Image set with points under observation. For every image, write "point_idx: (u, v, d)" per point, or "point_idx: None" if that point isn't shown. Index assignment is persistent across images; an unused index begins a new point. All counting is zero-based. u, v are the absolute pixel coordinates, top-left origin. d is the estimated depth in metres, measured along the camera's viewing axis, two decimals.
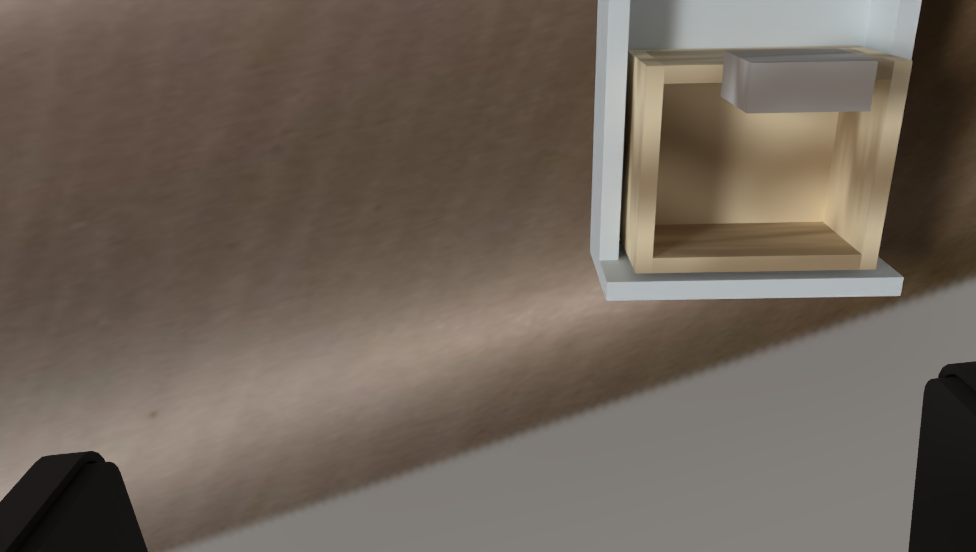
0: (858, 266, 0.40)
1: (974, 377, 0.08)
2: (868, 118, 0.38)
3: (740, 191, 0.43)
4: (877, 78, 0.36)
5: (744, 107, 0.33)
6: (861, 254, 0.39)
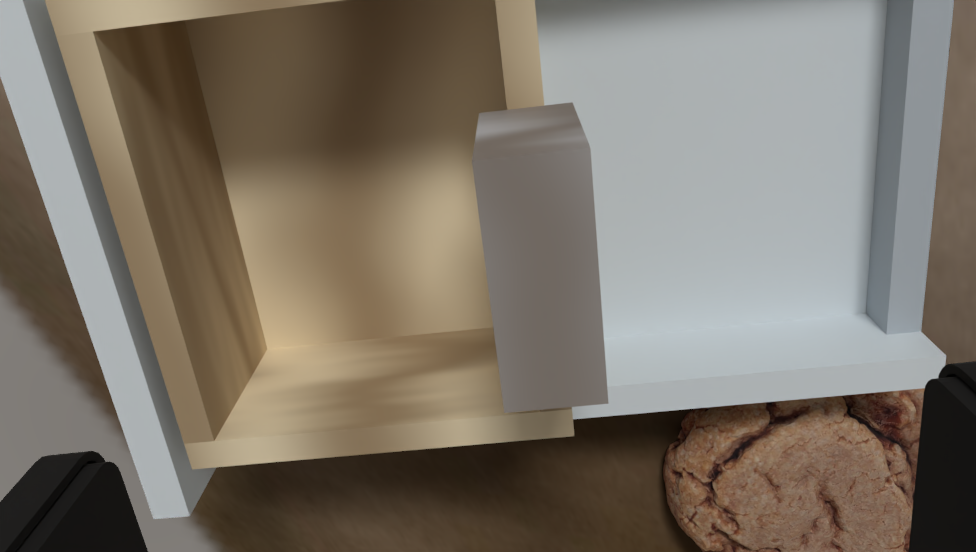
0: (190, 440, 0.21)
1: (974, 377, 0.08)
2: (460, 386, 0.22)
3: (292, 202, 0.23)
4: None
5: (482, 154, 0.14)
6: (213, 439, 0.21)
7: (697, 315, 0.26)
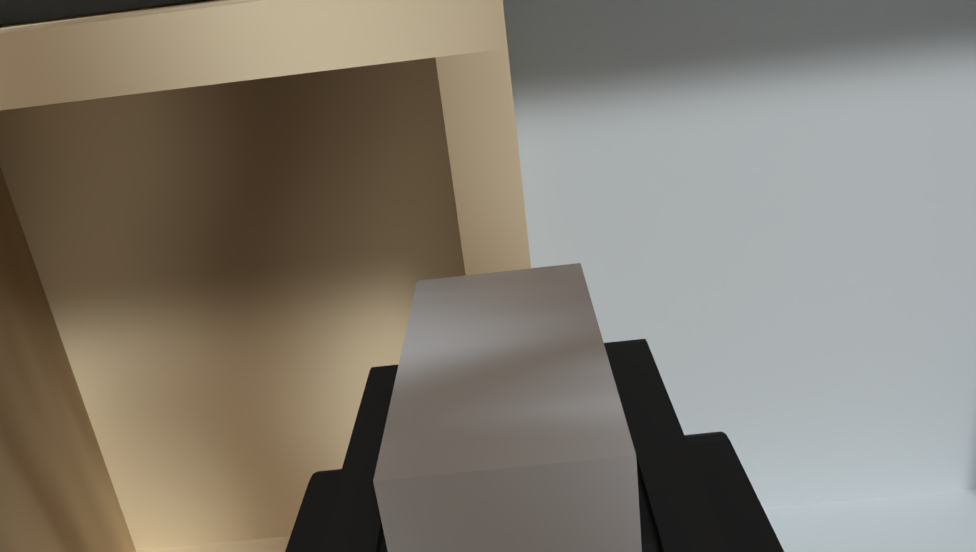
0: None
1: (611, 353, 0.09)
2: None
3: (158, 354, 0.16)
4: None
5: (400, 451, 0.06)
6: None
7: None
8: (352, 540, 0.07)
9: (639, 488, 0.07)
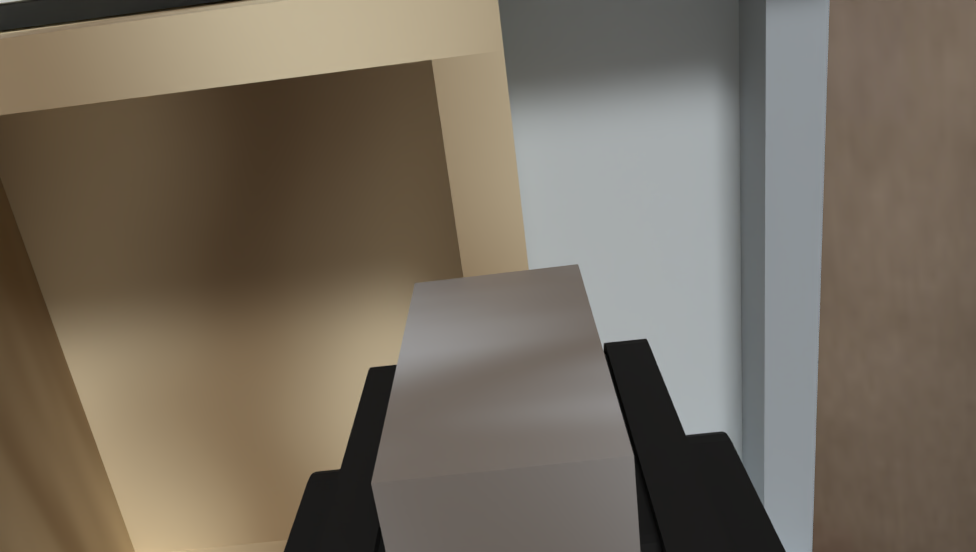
0: None
1: (612, 353, 0.09)
2: None
3: (157, 358, 0.16)
4: None
5: (398, 454, 0.06)
6: None
7: None
8: (351, 540, 0.07)
9: (641, 488, 0.07)
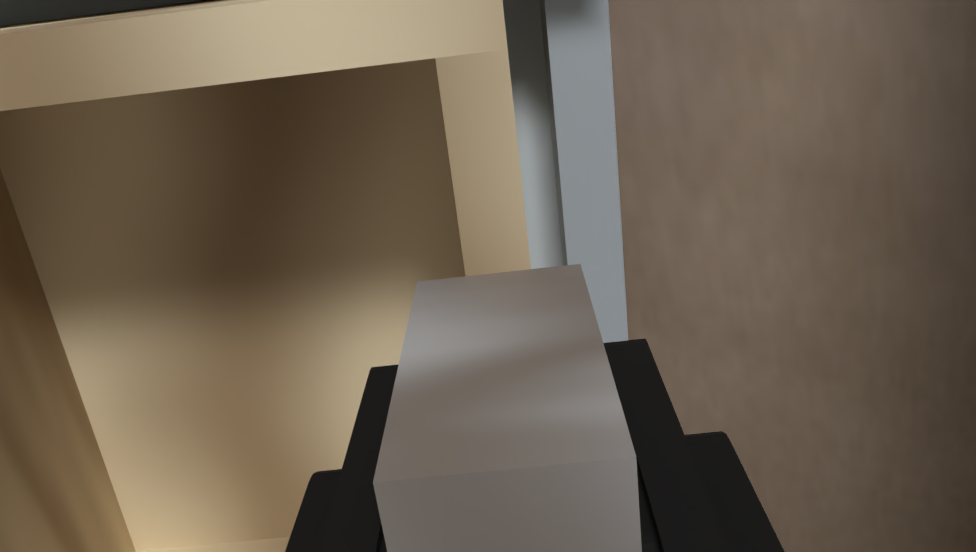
0: None
1: (611, 353, 0.09)
2: None
3: (158, 354, 0.16)
4: None
5: (400, 453, 0.06)
6: None
7: None
8: (352, 540, 0.07)
9: (639, 488, 0.07)
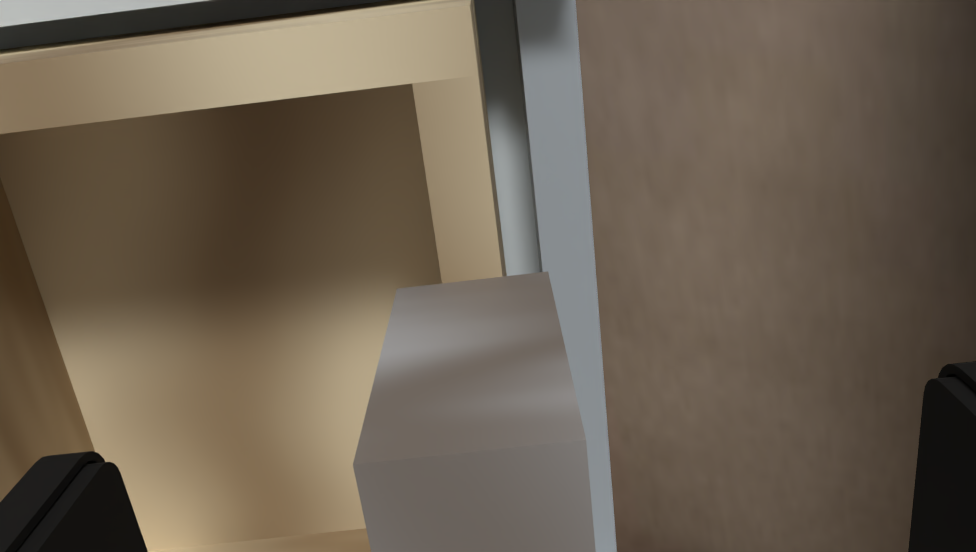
0: None
1: (974, 377, 0.08)
2: None
3: (153, 361, 0.17)
4: None
5: (378, 439, 0.07)
6: None
7: None
8: None
9: None
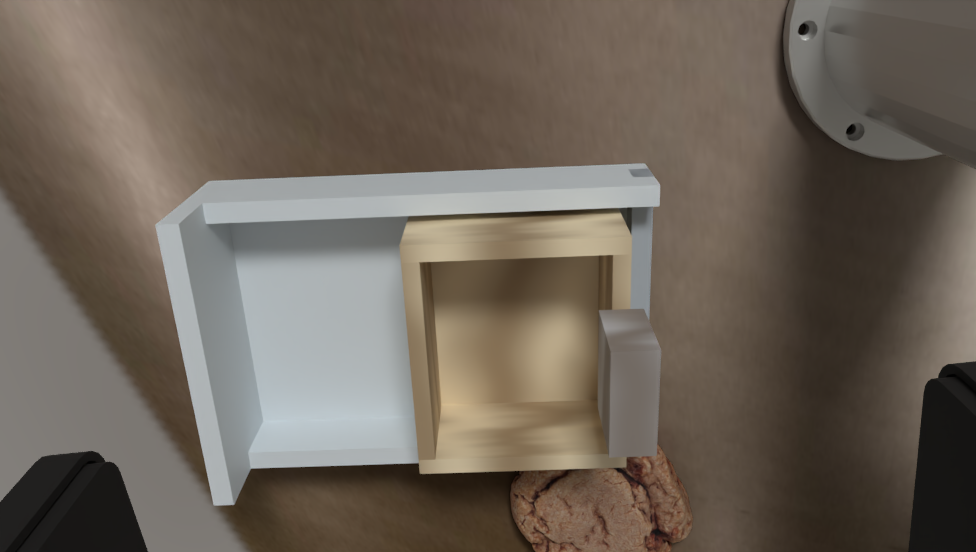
0: (421, 458, 0.39)
1: (974, 377, 0.08)
2: (563, 436, 0.40)
3: (470, 325, 0.42)
4: None
5: (614, 347, 0.32)
6: (435, 458, 0.39)
7: None
8: None
9: None
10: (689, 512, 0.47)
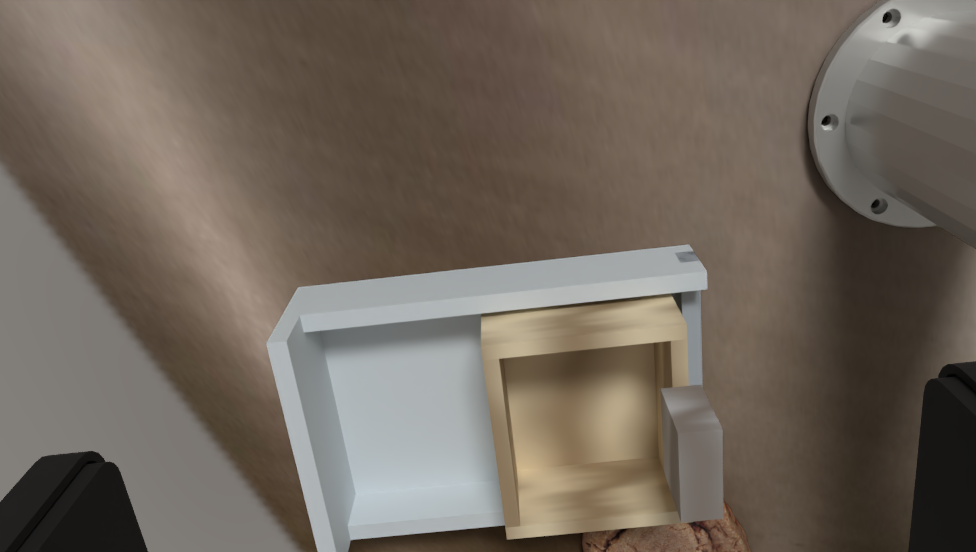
0: (507, 525, 0.43)
1: (974, 377, 0.08)
2: (632, 496, 0.45)
3: (539, 399, 0.46)
4: None
5: (680, 428, 0.37)
6: (520, 525, 0.43)
7: None
8: None
9: None
10: (748, 550, 0.51)
